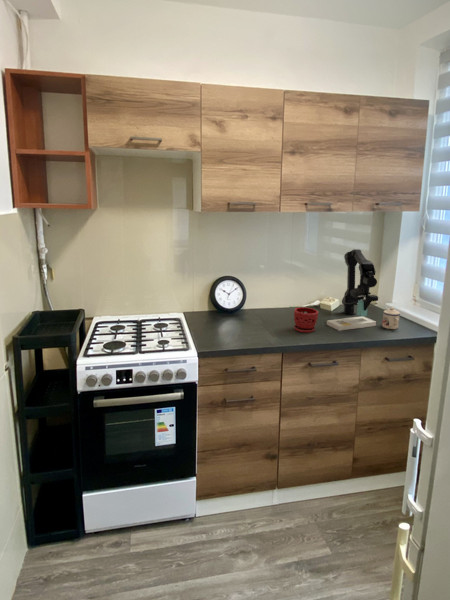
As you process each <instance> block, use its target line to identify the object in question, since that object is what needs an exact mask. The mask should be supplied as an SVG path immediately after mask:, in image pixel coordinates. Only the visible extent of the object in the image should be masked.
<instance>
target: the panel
mask: <svg viewBox="0 0 450 600" xmlns="http://www.w3.org/2000/svg"><path fill="white" fill-rule="evenodd" d="M326 325H327V326H329V327H331V328H333V329H335V330H337V331H339V332H341V331H347V330H348V331H349V330H353V329H354V330H355V329H363V328H368V327H369V328H370V327H371V328H372V327H375V326H376V327H377V321H375V320H374V319H371V318H369V317H367V316H355V317H354V316H353V317H345V318H338V319H329V320H326Z"/></svg>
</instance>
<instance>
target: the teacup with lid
mask: <svg viewBox="0 0 450 600" xmlns="http://www.w3.org/2000/svg"><path fill="white" fill-rule="evenodd" d="M382 313H383V314H382V315H383V317H382V328H385V329H389V330H397V329H398V328H399V322H400V315H401V312H399V311H398V310H396V309H395V307H390V308H388V309H385V310H383V312H382Z"/></svg>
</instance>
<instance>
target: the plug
mask: <svg viewBox="0 0 450 600" xmlns="http://www.w3.org/2000/svg"><path fill="white" fill-rule="evenodd" d="M356 315H357V316H358V317H361V316H363V317H367V316H368V308H367V309H366V310H364V301H363V299H361V300H358V303H357V309H356Z"/></svg>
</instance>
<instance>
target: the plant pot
mask: <svg viewBox="0 0 450 600" xmlns="http://www.w3.org/2000/svg"><path fill="white" fill-rule="evenodd" d="M318 316H319V311H318V310H316V309H314V308H311V307H301V306H300V307H296V308H295V309H294V313H293V320H294V326H293V327H294V329H295V330H296V332H300V333H306V334H307V333H312V332H314V331H315V330H316V327H315V326H316V324H317V321H318V318H319V317H318Z"/></svg>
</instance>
